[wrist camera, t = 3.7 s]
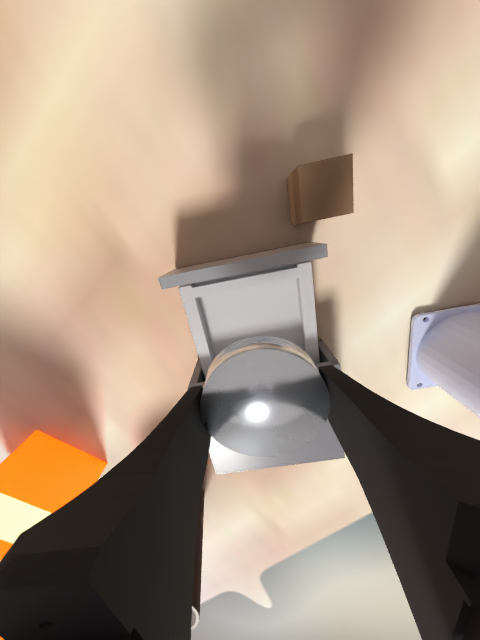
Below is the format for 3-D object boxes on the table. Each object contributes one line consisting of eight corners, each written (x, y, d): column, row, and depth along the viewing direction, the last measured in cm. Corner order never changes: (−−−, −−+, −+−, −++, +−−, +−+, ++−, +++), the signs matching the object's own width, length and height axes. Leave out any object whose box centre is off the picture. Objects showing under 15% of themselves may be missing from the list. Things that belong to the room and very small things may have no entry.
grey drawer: (309, 242, 18) (327, 244, 14) (318, 351, 22) (334, 375, 18) (174, 269, 19) (158, 277, 15) (204, 370, 22) (196, 397, 19)
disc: (315, 327, 10) (328, 343, 9) (320, 422, 12) (331, 449, 10) (194, 345, 10) (186, 363, 9) (217, 435, 12) (214, 463, 11)
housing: (321, 339, 21) (340, 364, 17) (327, 420, 25) (344, 457, 21) (197, 360, 22) (187, 388, 18) (220, 436, 26) (216, 474, 22)
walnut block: (330, 169, 17) (352, 153, 13) (332, 216, 18) (353, 212, 14) (286, 179, 17) (297, 165, 13) (291, 225, 18) (302, 223, 15)
